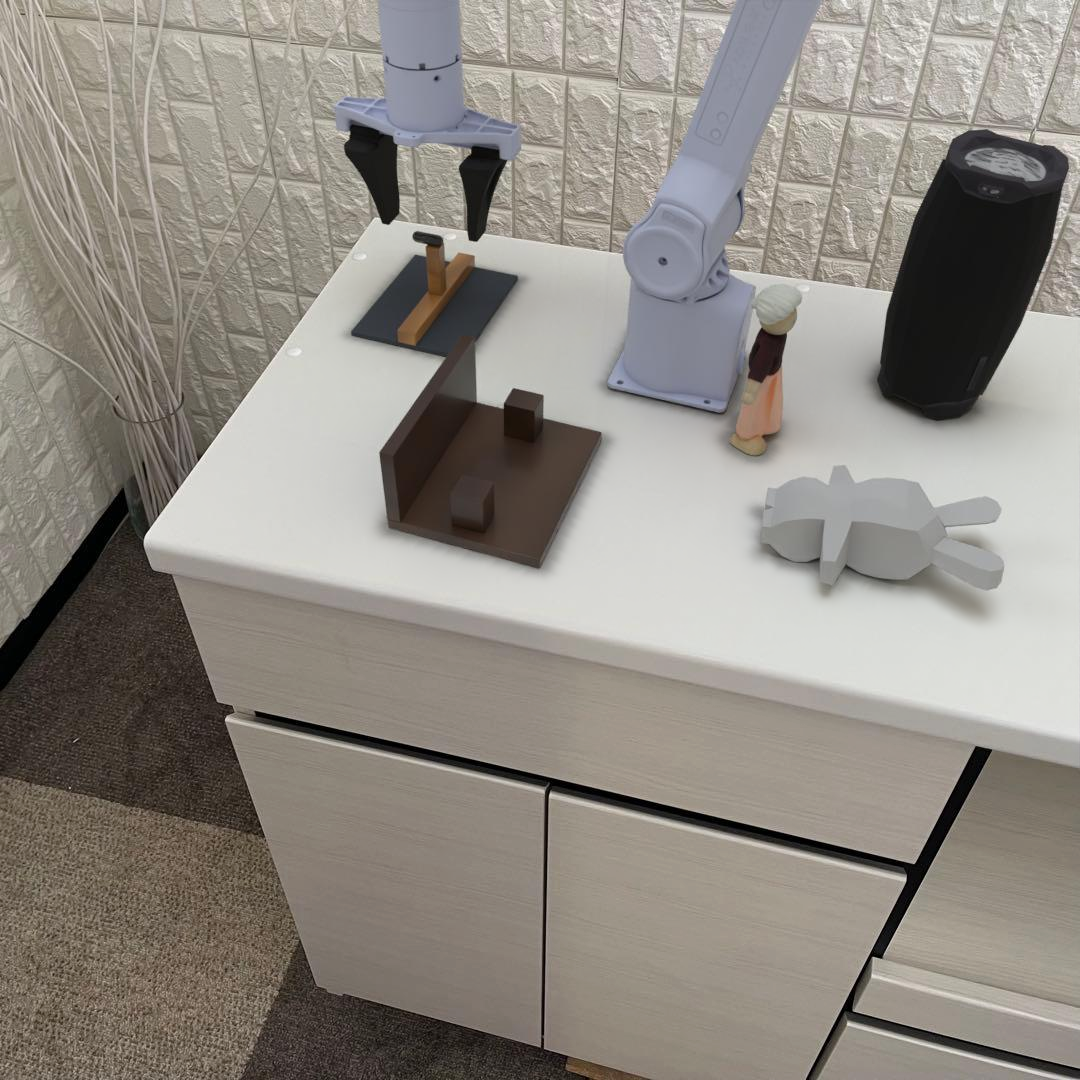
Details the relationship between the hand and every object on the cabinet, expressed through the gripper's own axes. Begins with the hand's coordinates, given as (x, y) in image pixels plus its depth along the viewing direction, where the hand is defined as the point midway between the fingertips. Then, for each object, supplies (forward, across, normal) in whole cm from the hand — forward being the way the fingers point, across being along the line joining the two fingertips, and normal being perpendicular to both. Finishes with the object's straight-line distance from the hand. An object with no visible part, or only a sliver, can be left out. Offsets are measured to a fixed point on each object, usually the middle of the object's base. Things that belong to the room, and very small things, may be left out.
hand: (433, 227), depth 86 cm
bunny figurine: (+8, +39, -17) cm, 43 cm away
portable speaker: (+8, +41, +3) cm, 42 cm away
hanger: (+7, 0, 0) cm, 7 cm away
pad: (+8, 0, 0) cm, 8 cm away
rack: (+8, +13, -19) cm, 24 cm away
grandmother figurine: (+8, +29, -7) cm, 31 cm away
